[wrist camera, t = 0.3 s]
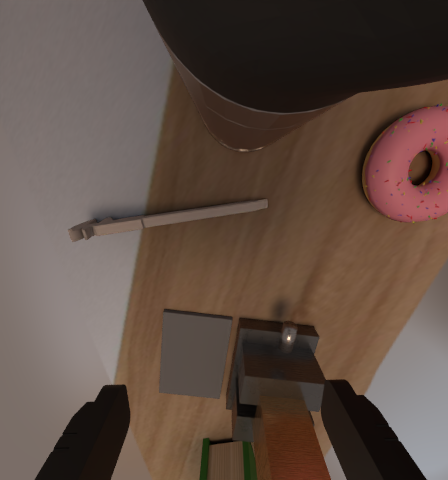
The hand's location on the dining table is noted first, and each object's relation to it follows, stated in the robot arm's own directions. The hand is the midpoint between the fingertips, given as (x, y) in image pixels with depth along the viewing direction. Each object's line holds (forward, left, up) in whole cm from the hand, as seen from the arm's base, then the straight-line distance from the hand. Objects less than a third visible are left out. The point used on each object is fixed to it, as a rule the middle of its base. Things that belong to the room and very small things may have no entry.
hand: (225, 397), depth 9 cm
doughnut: (-11, +18, -19) cm, 29 cm away
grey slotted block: (+15, +8, -19) cm, 26 cm away
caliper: (-3, -6, -19) cm, 20 cm away
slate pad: (+17, -3, -19) cm, 25 cm away
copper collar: (+17, +8, -12) cm, 22 cm away
